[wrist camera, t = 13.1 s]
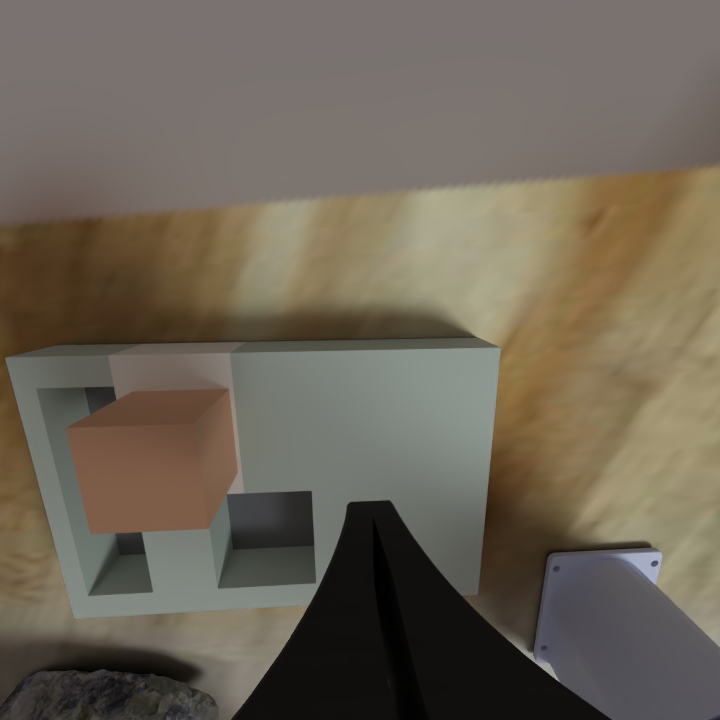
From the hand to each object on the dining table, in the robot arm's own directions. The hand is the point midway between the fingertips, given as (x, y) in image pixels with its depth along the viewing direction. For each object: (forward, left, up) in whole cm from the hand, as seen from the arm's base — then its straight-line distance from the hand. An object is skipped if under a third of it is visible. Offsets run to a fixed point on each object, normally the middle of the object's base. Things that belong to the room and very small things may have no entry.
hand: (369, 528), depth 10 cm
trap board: (-3, +4, -10) cm, 11 cm away
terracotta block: (0, +8, -7) cm, 11 cm away
